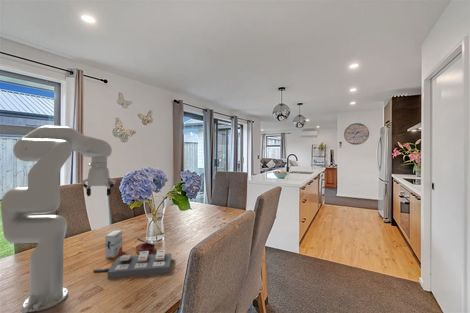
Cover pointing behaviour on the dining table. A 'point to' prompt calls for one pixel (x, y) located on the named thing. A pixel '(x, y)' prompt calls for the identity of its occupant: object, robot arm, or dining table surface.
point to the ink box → (113, 244)
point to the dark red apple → (145, 247)
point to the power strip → (138, 267)
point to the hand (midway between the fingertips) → (98, 195)
